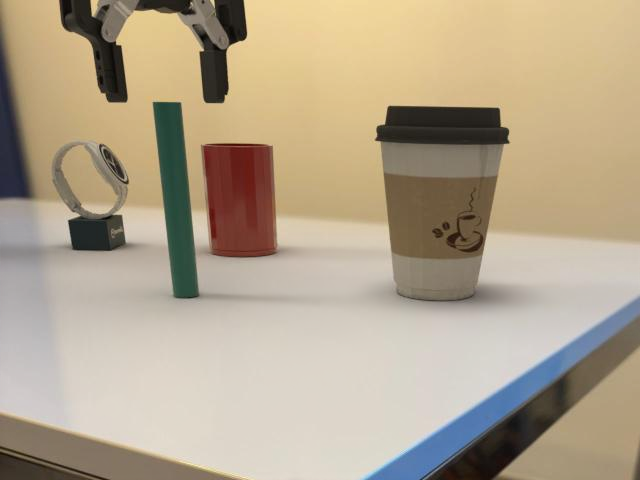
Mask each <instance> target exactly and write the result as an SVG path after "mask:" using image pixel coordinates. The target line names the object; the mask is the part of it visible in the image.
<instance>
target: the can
mask: <svg viewBox="0 0 640 480" xmlns="http://www.w3.org/2000/svg"><path fill="white" fill-rule="evenodd" d="M200 154H201V164H202V176H203V186H204V188H203V189H204V200H205V211H206V223H207V225H206V226H207V234H208V245H209V252H210V253H211V254H213V255H216V256H221V257H222V256H224V257H230V258H231V257H232V258H233V257H234V258H248V257H249V258H250V257H251V258H252V257H263V256H269V255H273V254H276V253H277V252H278V232H277V229H278V228H277V210H276V209H277V208H276V207H277V206H276V187H275V185H276V184H275V165H274V162H275V161H274V145H273V144H271V143H270V144H269V143H252V142H251V143H250V142H213V143H210V142H209V143H201V144H200Z"/></svg>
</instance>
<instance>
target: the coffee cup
mask: <svg viewBox="0 0 640 480" xmlns="http://www.w3.org/2000/svg"><path fill="white" fill-rule="evenodd" d="M375 131H376V137H375V138H374V141H375V142H380V152H381V162H382V172H383V183H384V193H385V204H386V213H387V221H388V222H387V223H388V224H387V225H388V235H389V243H390V253H391V264H392V274H393V282H394V283H395V285H396V292H397V294H398V295H401V296H403V297H406V298H409V299H415V300H422V301H455V300H458V301H459V300H464V299H467V298H470V297H473V295H474V293H475V288H476V286H477V284H478V282H479V278H480V272H481V266H482V261H483V256H484V251H485V246H486V240H487V235H488V230H489V225H490V219H491V214H492V209H493V203H494V200H495V195H496V188H497V184H498V178H499V172H500V167H501V162H502V156H503V151H504V147H505V145H509V144H511V142H510V140H509V136H510V129H509V128H508V127H506V126H502V120H501V109H500V107H489V106H488V107H487V106H485V107H484V106H480V107H479V106H436V105H435V106H432V105H431V106H430V105H427V106H426V105H425V106H424V105H388V106H387V107H386V115H385V121H384V124H379V125H377V126H376V129H375Z"/></svg>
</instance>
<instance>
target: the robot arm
mask: <svg viewBox="0 0 640 480" xmlns="http://www.w3.org/2000/svg"><path fill="white" fill-rule="evenodd" d="M58 4H59V5H58V6H59V14H60V15H59V16H60V22H61V23H60V24H61V26H62V27H63V29H64V30H65V31H66V32H67V33H75V34H77V35H79V36H81V37H83V38H85V39H86V40H87V41H88V42H89V43H90V45H91V48H92V54H93V61H94V69H95V76H96V83H97V87H98V89H99V91H100V94H104V95H105V99H106V101H107V103H109V104H110V103H113V104H115V103H117V104H125V103H127V102H128V100H129V94H128V87H127V86H128V85H127V79H126V70H125V61H124V56H123V55H124V54H123V48H122V44H117V39H118V38H119V36H120V34H121V32H122V30H123V28H124V25H125V23H126V21H127V20H128V18H130V17H131V15H133V13H134V12H146V11H155V12H158V13H160V14H168V15H172V14H176V15H177V16H178V18H179V19H180V21H181V23H182V24H184V25H185V26H187V27H188V28H189V30H190V31H191V33H192V34H193V36H194V37H195V40H197V43H198V44H199V45H200V47H201V49H202V50H199V51H198V54H199V66H200V76H201V88H202V89H201V90H202V98H203V101H204V103H205V104H224V103H225V101H226V100H225V99H226V96H228V94H229V90H230V85H229V84H230V83H229V75H228V74H229V72H228V71H229V69H228V57H227V56H228V55H227V53H228V49H229V47H230V46H232V45H234V44H237V43H239V42H244V41H245V40H247V37H248V29H247V28H248V25H247V18H246V8H245V0H213V3H212V0H98V1H97V3H96V10H95V13H94V14H93V11H92V0H58Z"/></svg>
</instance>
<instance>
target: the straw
mask: <svg viewBox="0 0 640 480" xmlns="http://www.w3.org/2000/svg"><path fill="white" fill-rule="evenodd" d="M182 106H183V105H182V102H180V101H152V111H153V112H152V113H153V120H154V128H155V129H154V130H155V138H156V147H157V157H158V167H159V175H160V183H161V184H160V185H161V194H162V202H163V212H164V220H165V221H164V222H165V231H166V239H167V240H166V241H167V250H168V259H169V267H170V268H169V269H170V275H171V276H170V279H171V286H172V295H173V297H175V298H179V299H189V298H188V297H191V298H195V296H196V297H198V296H199V295H200V288H199V277H198V268H197V257H196V245H195V236H194V225H193V214H192V203H191V202H192V201H191V192H190V191H191V190H190V182H189V171H188V161H187V149H186V148H187V147H186V139H185V130H184V129H185V127H184V126H185V125H184V117H183V107H182Z"/></svg>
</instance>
